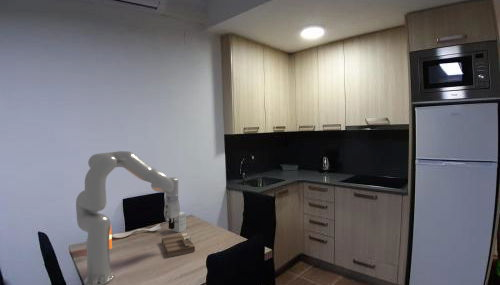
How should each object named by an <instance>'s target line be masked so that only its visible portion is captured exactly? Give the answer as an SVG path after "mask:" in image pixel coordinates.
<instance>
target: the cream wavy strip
mask: <svg viewBox="0 0 500 285" xmlns="http://www.w3.org/2000/svg"><path fill="white" fill-rule="evenodd" d="M162 229H163V227H161V223H159V224H156V225H155V226H153V227H151V228H137V229H134V230H131V231H125V232H119V233H113V234H112V239H113V238H114V239H123V238H126V237H128V236H130V235H131V234H133V233H135V232H140V231H147V232H156V231H160V230H162Z"/></svg>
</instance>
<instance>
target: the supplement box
mask: <svg viewBox="0 0 500 285" xmlns="http://www.w3.org/2000/svg"><path fill="white" fill-rule="evenodd" d="M186 230H187V213H186V212H184V211H180V214H179V216H177V217H176V219H175V228H174V229H171V232H176V233H178V234H181V232H182V233H183V232H184V231H186Z"/></svg>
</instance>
